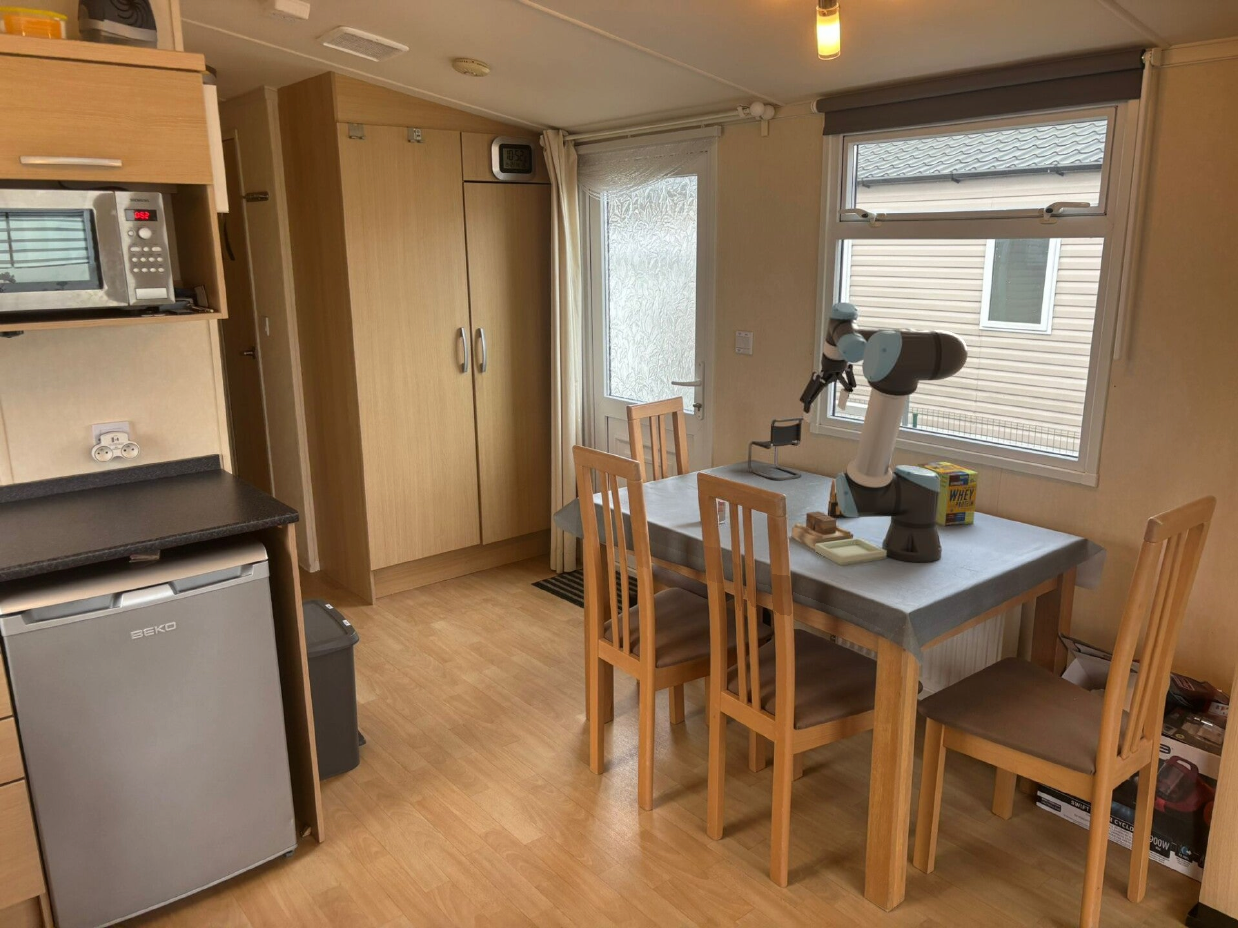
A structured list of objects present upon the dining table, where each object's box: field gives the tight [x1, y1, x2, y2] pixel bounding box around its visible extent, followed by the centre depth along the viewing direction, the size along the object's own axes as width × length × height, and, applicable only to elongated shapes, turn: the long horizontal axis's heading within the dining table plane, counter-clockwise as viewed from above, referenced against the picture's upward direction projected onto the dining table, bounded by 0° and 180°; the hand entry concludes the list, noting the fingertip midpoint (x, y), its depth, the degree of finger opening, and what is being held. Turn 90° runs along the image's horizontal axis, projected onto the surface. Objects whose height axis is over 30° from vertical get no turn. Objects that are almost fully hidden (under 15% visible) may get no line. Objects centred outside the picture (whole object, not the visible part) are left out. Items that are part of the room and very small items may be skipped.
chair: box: [747, 415, 804, 481], centre depth 325 cm, size 13×17×22 cm
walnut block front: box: [815, 516, 837, 535], centre depth 250 cm, size 4×4×4 cm
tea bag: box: [718, 501, 726, 522], centre depth 269 cm, size 4×7×10 cm, turn 104°
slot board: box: [790, 523, 854, 550], centre depth 252 cm, size 12×12×4 cm
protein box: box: [916, 461, 979, 527], centre depth 273 cm, size 10×15×16 cm
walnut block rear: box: [805, 510, 828, 530], centre depth 254 cm, size 4×4×4 cm
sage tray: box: [814, 537, 887, 566], centre depth 241 cm, size 12×14×2 cm
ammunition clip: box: [826, 478, 851, 520], centre depth 274 cm, size 11×2×12 cm, turn 103°
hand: (824, 414), depth 277 cm, fingers open, 13 cm apart
